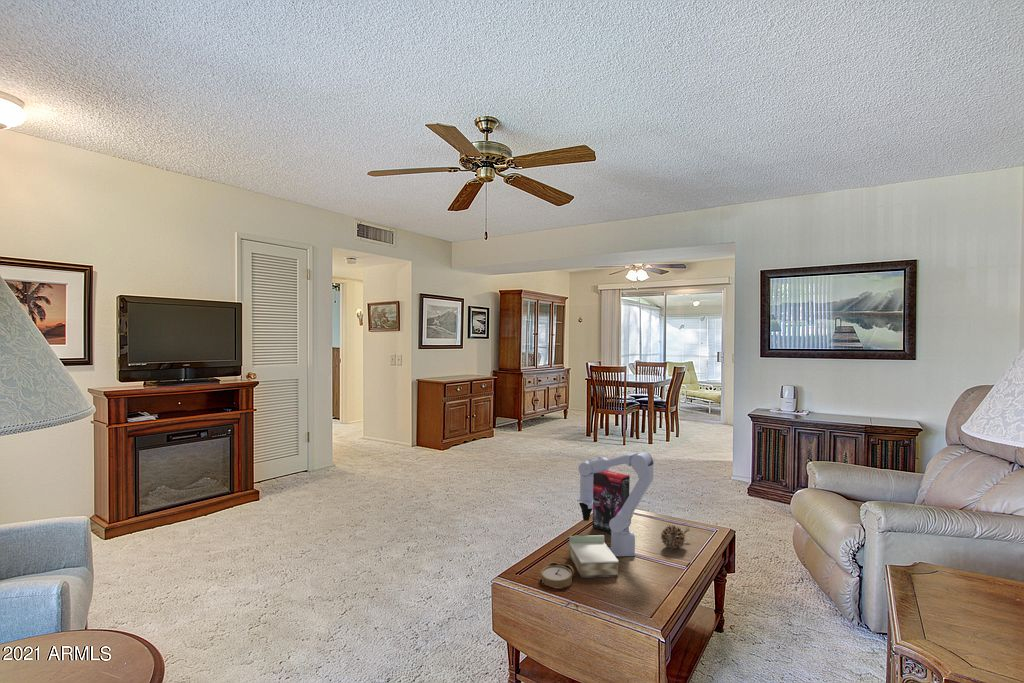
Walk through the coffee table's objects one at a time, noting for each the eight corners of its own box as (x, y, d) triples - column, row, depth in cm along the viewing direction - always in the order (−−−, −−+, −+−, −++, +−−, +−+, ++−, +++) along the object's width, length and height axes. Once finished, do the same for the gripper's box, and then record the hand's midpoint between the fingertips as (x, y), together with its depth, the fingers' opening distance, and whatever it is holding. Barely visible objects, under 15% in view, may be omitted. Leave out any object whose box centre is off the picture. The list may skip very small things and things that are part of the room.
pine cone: (677, 556, 211) (678, 532, 211) (655, 550, 217) (655, 526, 217) (696, 541, 228) (696, 519, 228) (675, 536, 234) (676, 514, 234)
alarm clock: (536, 577, 183) (550, 555, 196) (536, 590, 183) (550, 566, 197) (566, 583, 178) (578, 560, 192) (566, 596, 179) (578, 572, 192)
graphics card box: (591, 527, 243) (592, 470, 243) (600, 524, 248) (601, 468, 248) (621, 538, 230) (622, 477, 231) (629, 534, 235) (630, 475, 236)
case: (603, 557, 208) (604, 544, 209) (617, 576, 191) (618, 563, 191) (570, 557, 207) (570, 545, 207) (581, 577, 189) (581, 564, 189)
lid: (603, 549, 210) (603, 535, 210) (618, 570, 190) (618, 554, 191) (569, 550, 208) (569, 535, 208) (580, 571, 189) (581, 555, 189)
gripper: (573, 484, 229) (573, 515, 229) (581, 493, 215) (581, 526, 214) (589, 484, 230) (588, 514, 230) (598, 493, 215) (597, 525, 215)
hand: (586, 520), depth 222 cm, fingers closed
